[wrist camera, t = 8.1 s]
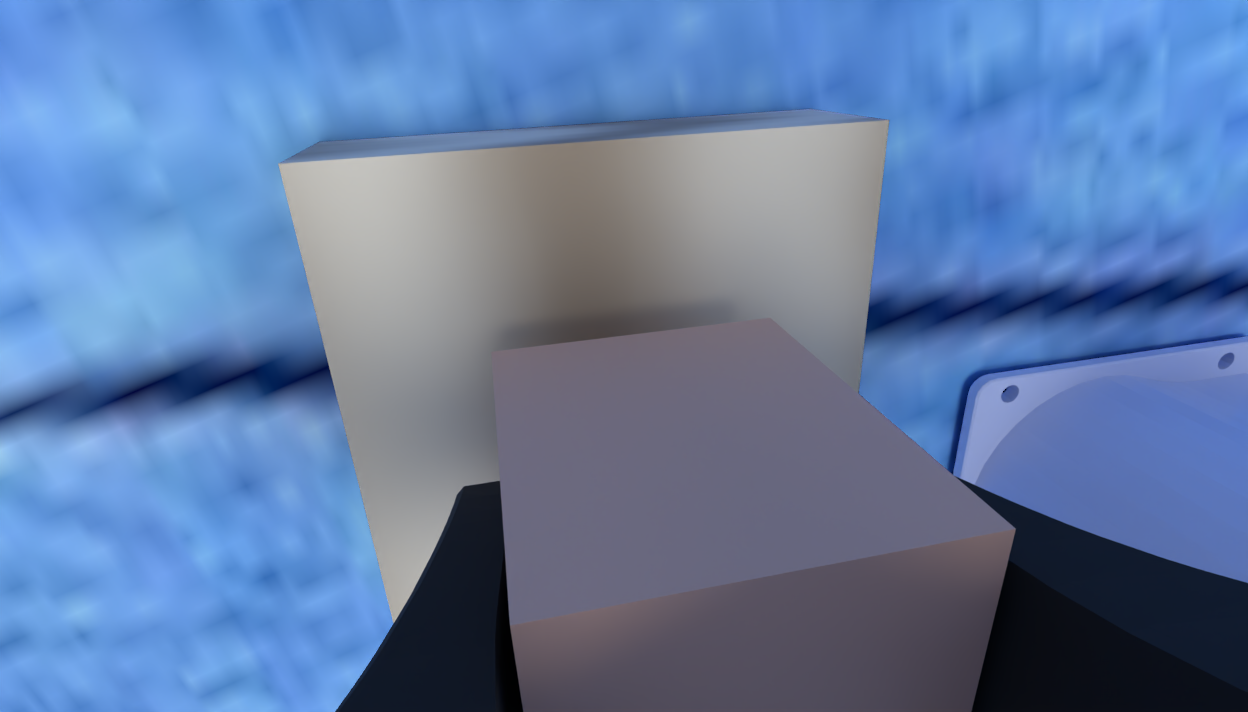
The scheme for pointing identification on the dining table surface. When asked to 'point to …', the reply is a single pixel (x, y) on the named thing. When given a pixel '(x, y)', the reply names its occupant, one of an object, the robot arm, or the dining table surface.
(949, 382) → the dining table surface
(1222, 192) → the dining table surface
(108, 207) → the dining table surface
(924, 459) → the terracotta block
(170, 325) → the dining table surface
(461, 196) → the birch base
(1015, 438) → the robot arm
